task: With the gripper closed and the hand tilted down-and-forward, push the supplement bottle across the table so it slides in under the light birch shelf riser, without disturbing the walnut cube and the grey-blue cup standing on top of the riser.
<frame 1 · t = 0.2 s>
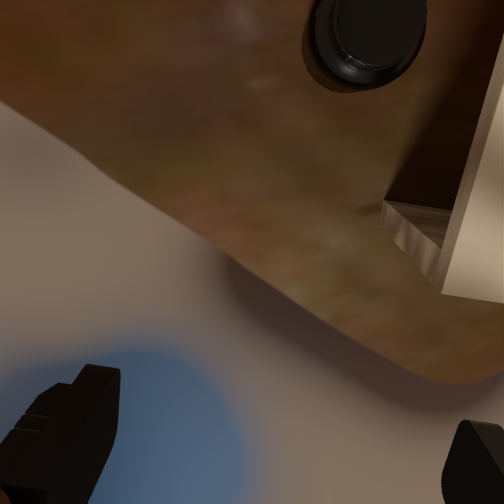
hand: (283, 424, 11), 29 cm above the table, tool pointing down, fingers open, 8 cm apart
riser: (490, 68, 35), on the table
supplement bottle: (345, 45, 35), on the table
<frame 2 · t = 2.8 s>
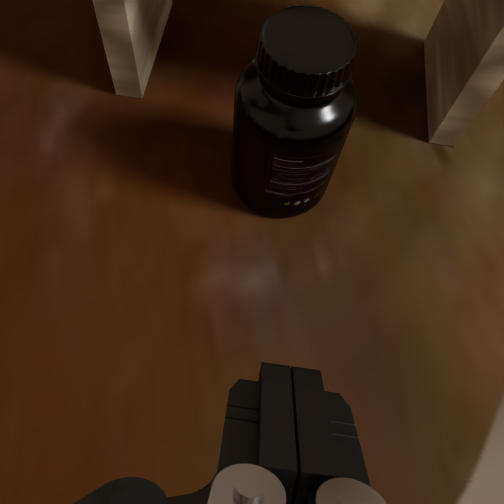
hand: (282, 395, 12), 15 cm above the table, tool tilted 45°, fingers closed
riser: (292, 69, 38), on the table
supplement bottle: (277, 181, 33), on the table
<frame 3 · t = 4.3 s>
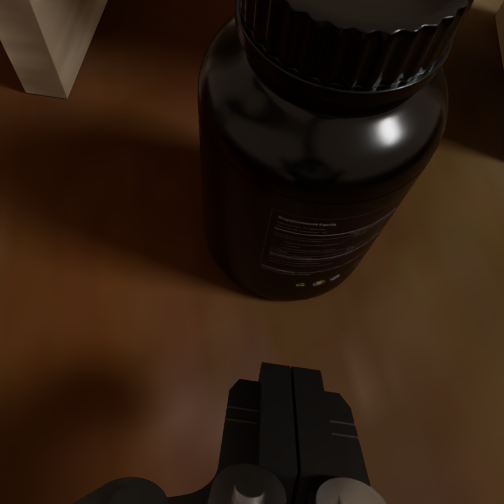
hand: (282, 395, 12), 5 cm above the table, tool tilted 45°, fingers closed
riser: (303, 53, 25), on the table
supplement bottle: (282, 234, 20), on the table
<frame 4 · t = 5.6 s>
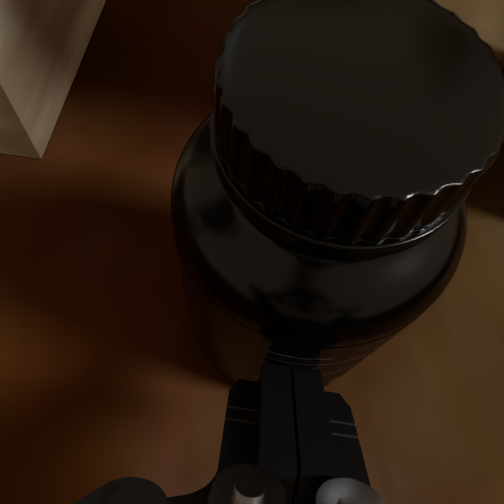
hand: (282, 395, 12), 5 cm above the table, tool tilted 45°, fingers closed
riser: (298, 102, 23), on the table
supplement bottle: (276, 313, 18), on the table, touching gripper
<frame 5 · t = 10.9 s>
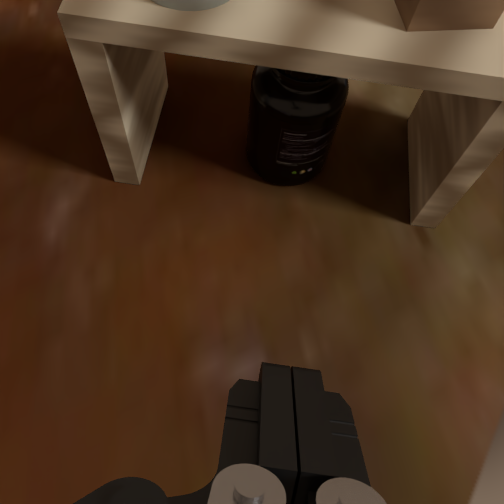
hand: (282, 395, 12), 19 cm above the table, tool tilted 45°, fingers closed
riser: (281, 151, 40), on the table
walnut cube: (436, 0, 26), point 15 cm above the table, touching riser
supplement bottle: (284, 157, 40), on the table
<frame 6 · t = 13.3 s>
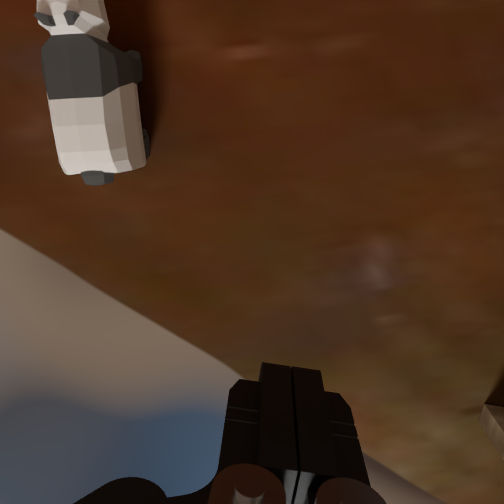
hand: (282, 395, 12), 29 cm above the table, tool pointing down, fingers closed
giant panda: (115, 89, 38), on the table
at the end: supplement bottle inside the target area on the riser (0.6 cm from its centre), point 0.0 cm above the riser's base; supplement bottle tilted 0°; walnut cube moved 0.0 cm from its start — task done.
